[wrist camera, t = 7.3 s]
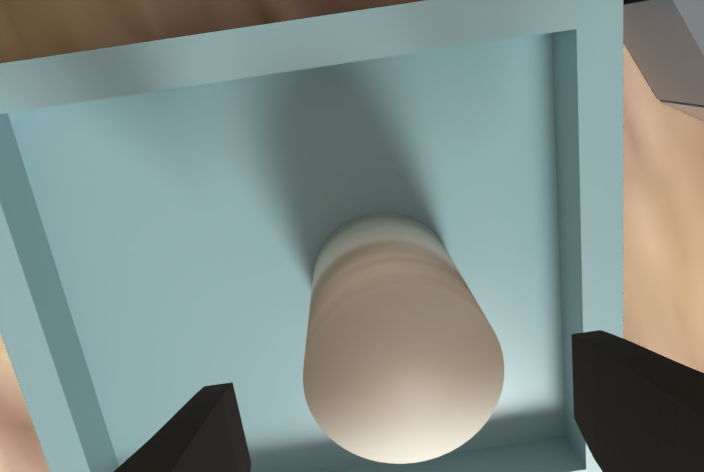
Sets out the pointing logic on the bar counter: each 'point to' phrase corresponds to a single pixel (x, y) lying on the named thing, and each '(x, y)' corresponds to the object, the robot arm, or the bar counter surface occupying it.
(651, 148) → the bar counter surface
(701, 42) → the grey rounded shallow piece
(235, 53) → the tray
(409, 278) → the cylinder
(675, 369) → the robot arm
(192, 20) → the bar counter surface
